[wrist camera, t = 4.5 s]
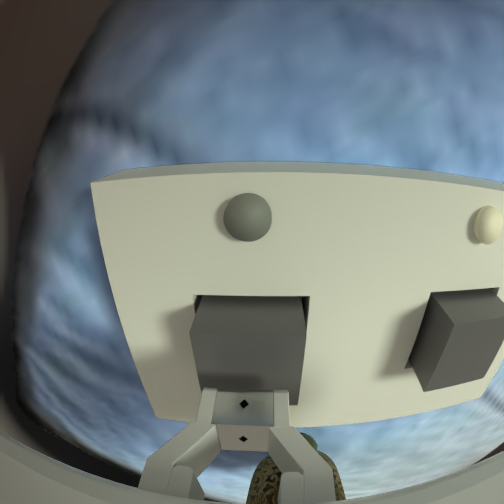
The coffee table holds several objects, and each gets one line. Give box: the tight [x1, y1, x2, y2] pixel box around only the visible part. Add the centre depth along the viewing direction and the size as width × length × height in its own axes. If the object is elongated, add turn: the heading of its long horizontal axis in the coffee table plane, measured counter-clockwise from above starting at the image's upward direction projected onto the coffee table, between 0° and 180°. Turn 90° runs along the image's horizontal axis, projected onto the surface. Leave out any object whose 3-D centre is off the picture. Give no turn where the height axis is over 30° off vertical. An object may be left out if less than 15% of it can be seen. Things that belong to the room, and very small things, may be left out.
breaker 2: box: [408, 288, 504, 392], centre depth 12 cm, size 4×4×3 cm
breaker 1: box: [189, 295, 307, 405], centre depth 12 cm, size 4×4×3 cm
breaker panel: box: [91, 162, 504, 427], centre depth 13 cm, size 14×22×3 cm, turn 91°
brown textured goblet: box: [246, 434, 346, 504], centre depth 17 cm, size 8×7×8 cm
